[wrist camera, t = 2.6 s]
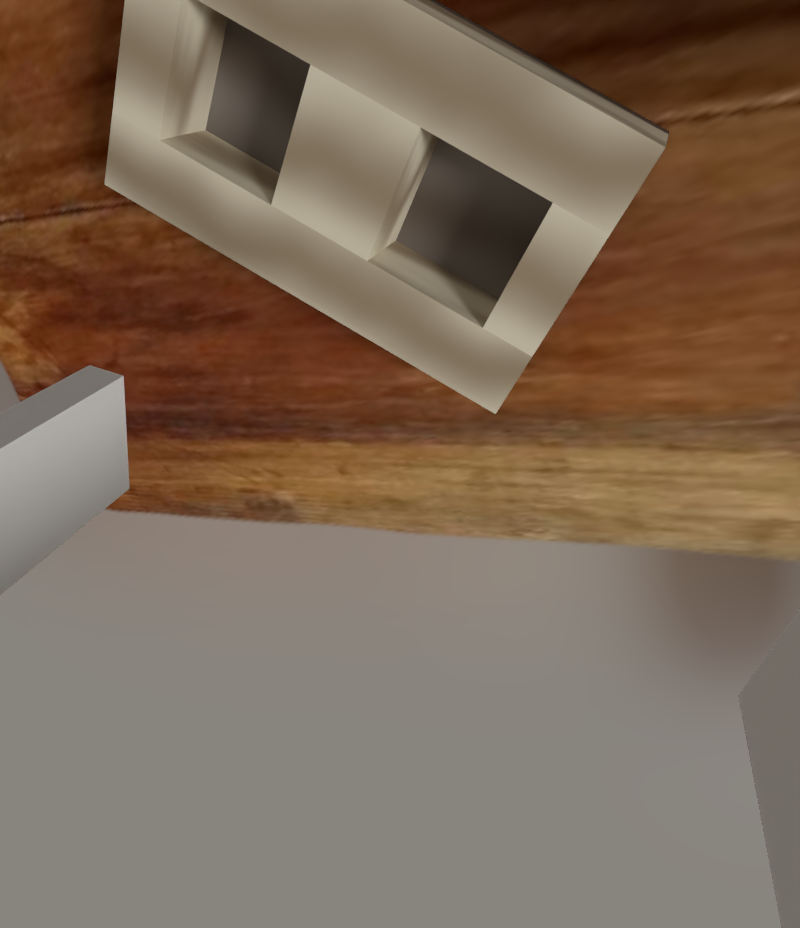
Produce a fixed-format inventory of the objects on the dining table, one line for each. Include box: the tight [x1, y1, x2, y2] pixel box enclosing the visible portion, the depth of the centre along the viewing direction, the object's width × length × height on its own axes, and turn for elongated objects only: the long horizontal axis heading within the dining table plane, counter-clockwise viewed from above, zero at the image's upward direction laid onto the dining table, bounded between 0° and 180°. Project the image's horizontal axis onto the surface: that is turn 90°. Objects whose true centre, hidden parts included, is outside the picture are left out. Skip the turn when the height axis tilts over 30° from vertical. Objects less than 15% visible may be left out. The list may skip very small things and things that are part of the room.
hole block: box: [105, 0, 669, 414], centre depth 32 cm, size 14×24×5 cm, turn 66°
